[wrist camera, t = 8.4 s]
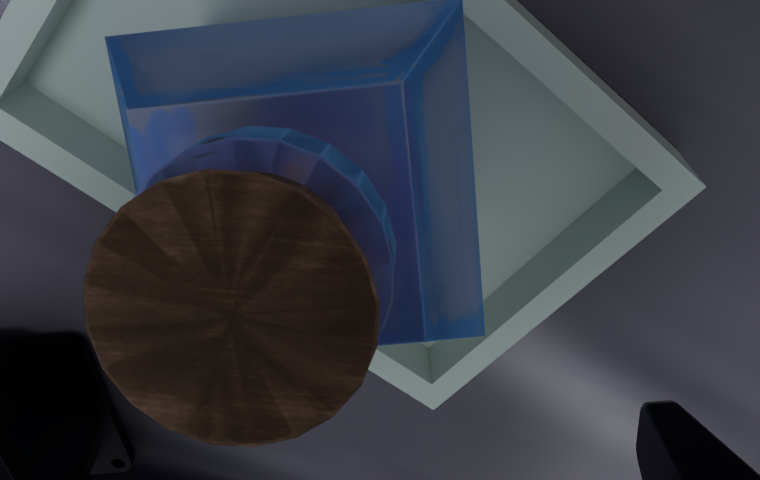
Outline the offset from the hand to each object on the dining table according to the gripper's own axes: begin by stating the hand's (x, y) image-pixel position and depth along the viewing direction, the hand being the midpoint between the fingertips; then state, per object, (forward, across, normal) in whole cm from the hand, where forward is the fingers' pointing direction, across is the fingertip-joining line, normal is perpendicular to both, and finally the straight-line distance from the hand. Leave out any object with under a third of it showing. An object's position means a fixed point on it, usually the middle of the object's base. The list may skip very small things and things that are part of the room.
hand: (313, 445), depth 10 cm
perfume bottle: (+11, 0, 0) cm, 11 cm away
